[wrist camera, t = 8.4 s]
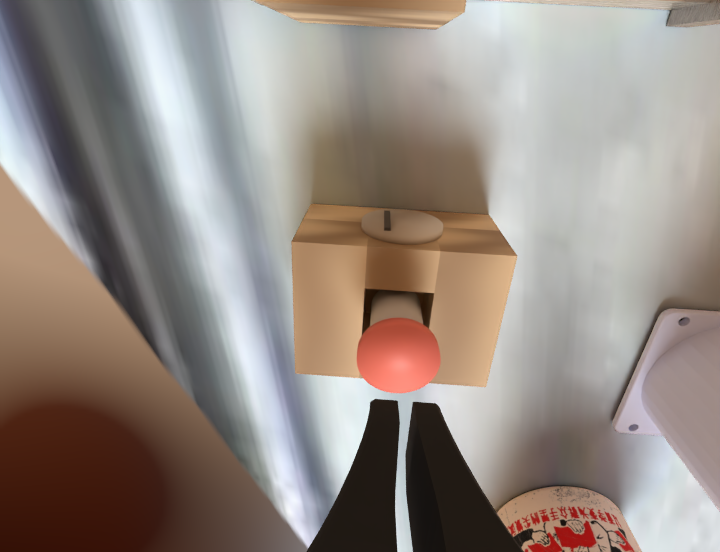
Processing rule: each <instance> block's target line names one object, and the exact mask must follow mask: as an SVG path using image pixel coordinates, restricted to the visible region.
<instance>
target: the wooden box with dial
mask: <svg viewBox="0 0 720 552" xmlns="http://www.w3.org/2000/svg"><path fill="white" fill-rule="evenodd" d="M516 260H517V255H516V253H515V252H514V251H513V249H512V248H511V246H510V245H509V243H508V242H507V240H506V239H505V237H504V236H503V235H502V233H501V232H500V230H499V229H498V227H497V226H496V224H495V223H494V221H493V220H492V218H491V217H490V216H489V215H485V214H469V213H453V212H437V211H421V210H406V209H389V208H373V207H357V206H341V205H324V204H311V205H310V207H309V209H308V211H307V213H306V215H305V216H304V218H303V220H302V222H301V224H300V226H299V228H298V230H297V232H296V234H295V236H294V238H293V240H292V274H293V309H294V345H295V373H297V374H311V375H325V376H339V377H353V378H363V377H362V375H361V374H360V372H359V370H358V367H357V348H358V343H359V340H360V338H361V336H362V335H363V333H364V332H365V331H366V330H367V329H368V328H369V327H370V319H371V303H372V300H373V297H374V296H375V294H376V293H377V292H378V291H379V290H395V291H410V292H415V293H416V295H417V296H418V298H419V300H420V305H421V312H422V319H423V325H425V326H426V327H427V328H429V329H430V330H431V332H432V333H433V334H434V336H435V337H436V339H437V342H438V346H439V351H440V357H441V362H440V367H439V370H438V372H437V374H436V376H435V377H434V378H433V379H432V380H431V381H430V382H429V383H436V384H450V385H464V386H478V387H486V384H487V380H488V376H489V372H490V368H491V364H492V360H493V355H494V351H495V347H496V343H497V339H498V335H499V330H500V326H501V322H502V318H503V314H504V310H505V306H506V301H507V297H508V293H509V289H510V285H511V281H512V277H513V272H514V268H515V264H516Z"/></svg>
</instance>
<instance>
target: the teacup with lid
mask: <svg viewBox="0 0 720 552" xmlns="http://www.w3.org/2000/svg"><path fill="white" fill-rule="evenodd" d="M497 514H498V516H499V517H500V519H501V520H502V522H503V523H504V525H505V526H506V528H507V529H508V530H509V532H510V533H511V535H512V536H513V537H514V539H515V540H516V541H517V543H518V544H519V546H520V547H521V548H522V550H523V551H524V552H642V551H641V549H640V547H639V545H638V543H637V542H636V540H635V538H634V536H633V534H632V532H631V530H630V528H629V526H628V524H627V523H626V521H625V519H624V517H623V515H622V513H621V511H620V510H619V509H618V507H617V506H616V505H615V504H614V503H613V502H612V501H610V500H609V499H608V498H606V497H605V496H603V495H601V494H599V493H597V492H594V491H591V490H588V489H584V488H579V487H569V486H555V487H546V488H541V489H536V490H533V491H530V492H527V493H524V494H522V495H520V496H518V497H516V498H514V499H512V500H511V501H509V502H508V503H506V504H505V505H504V506H503V507H502V508H501V509H500V510H499V511H498V512H497Z"/></svg>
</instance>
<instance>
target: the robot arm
mask: <svg viewBox="0 0 720 552" xmlns="http://www.w3.org/2000/svg"><path fill="white" fill-rule="evenodd" d="M683 317H685V318H684V319H683V320H682V321H680V322H678V321H679V320H680V319H681V318H683ZM399 425H400V421H399V410H398V401H394V400H380V399H374V400H373V401H371V402H370V411H369V416H368V421H367V424H366V428H365V431H364V434H363V438H362V441H361V443H360V446H359V449H358V451H357V454H356V456H355V459H354V462H353V464H352V466H351V469H350V471H349V473H348V475H347V477H346V480H345V482H344V484H343V486H342V488H341V490H340V493H339V495H338V497H337V499H336V501H335V503H334V504H333V506H332V508H331V510H330V512H329V514H328V516H327V518H326V519H325V521H324V523H323V525H322V527H321V528H320V530H319V532H318V534H317V535H316V537H315V539H314V540H313V542H312V544H311V545H310V547H309V548H308V550H307V552H397V539H396V519H395V487H396V471H397V456H398V441H399ZM612 426H613V427H614V429H615V430H616V431H617V432H620V433H630V434H644V435H657V436H664V438H665V439H666V440H667V442H668V443H669V444H670V446H671V447H672V448H673V450H674V451H675V452H676V454H677V455H678V456H679V458H680V459H681V460H682V462H683V463H684V464H685V466H686V467H687V469H688V470H689V471H690V473H691V474H692V475H693V477H694V478H695V479H696V481H697V482H698V483H699V485H700V486H701V487H702V489H703V490H704V491H705V493H706V494H707V495H708V497H709V498H710V499H711V501H712V502H713V503H714V505H715V506H716V507H717V509H718V510H719V511H720V311H705V310H690V309H675V308H672V309H667V310H664V311H663V312H662V313H661V314H660V315H659V317H658V319H657V321H656V324H655V326H654V328H653V330H652V333H651V335H650V337H649V340H648V342H647V344H646V346H645V349H644V351H643V353H642V355H641V358H640V360H639V362H638V364H637V367H636V369H635V371H634V374H633V376H632V378H631V380H630V383H629V385H628V387H627V389H626V392H625V394H624V396H623V398H622V401H621V403H620V405H619V407H618V410H617V412H616V414H615V417H614V419H613V421H612ZM406 495H407V504H408V513H409V521H410V530H411V538H412V546H413V552H524V551H523V550H522V548H521V547H520V546H519V544H518V543H517V541H516V540H515V539H514V537H513V536H512V535H511V533H510V532H509V530H508V529H507V528H506V526H505V525H504V523H503V522H502V520H501V519H500V517H499V516H498V514H497V513H496V511H495V510H494V508H493V507H492V505H491V504H490V502H489V500H488V499H487V497H486V496H485V494H484V493H483V491H482V489H481V488H480V486H479V484H478V483H477V481H476V479H475V478H474V476H473V474H472V472H471V470H470V469H469V467H468V465H467V463H466V462H465V460H464V458H463V456H462V454H461V452H460V451H459V449H458V447H457V445H456V443H455V441H454V439H453V437H452V435H451V433H450V431H449V429H448V426H447V424H446V422H445V420H444V417H443V415H442V413H441V410H440V408H439V406H438V405H437V404H435V403H421V402H413V406H412V413H411V420H410V427H409V434H408V442H407V449H406Z"/></svg>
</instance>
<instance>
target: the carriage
mask: <svg viewBox="0 0 720 552" xmlns="http://www.w3.org/2000/svg"><path fill="white" fill-rule="evenodd" d="M256 2H258V3H260V4H262V5H265V6H267V7H269V8H271V9H273V10H275V11H277V12H279V13H282V14H284V15H286V16H288V17H290V18H292V19H294V20H297V21H299V22H302V23H321V24H341V25H360V26H379V27H398V28H417V29H438V28H439V27H441V26H443V25H444V24H446V23H448V22H449V21H451V20H453V19H454V18H456V17H457V16H459V15H461V14H462V13H464V12H465V6H466V0H256Z"/></svg>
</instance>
